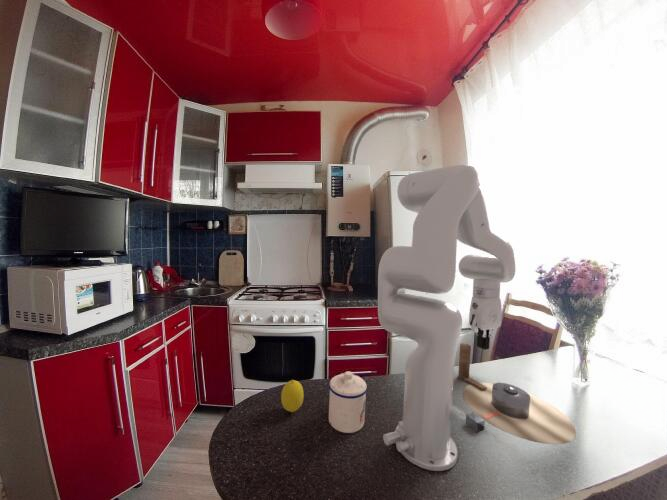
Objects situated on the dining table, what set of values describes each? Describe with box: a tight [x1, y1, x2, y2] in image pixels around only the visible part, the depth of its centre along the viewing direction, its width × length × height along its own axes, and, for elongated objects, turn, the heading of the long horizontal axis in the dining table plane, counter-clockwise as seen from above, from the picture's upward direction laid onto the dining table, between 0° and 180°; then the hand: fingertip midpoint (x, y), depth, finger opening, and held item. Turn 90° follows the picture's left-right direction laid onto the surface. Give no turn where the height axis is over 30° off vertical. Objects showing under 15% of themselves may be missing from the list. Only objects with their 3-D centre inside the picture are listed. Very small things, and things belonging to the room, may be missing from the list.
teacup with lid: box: [328, 370, 368, 434], centre depth 62 cm, size 12×9×12 cm
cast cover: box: [491, 382, 530, 419], centre depth 65 cm, size 8×8×6 cm
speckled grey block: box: [465, 411, 485, 434], centre depth 60 cm, size 2×3×2 cm
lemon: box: [280, 379, 305, 413], centre depth 62 cm, size 6×6×8 cm
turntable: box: [457, 342, 577, 445], centre depth 67 cm, size 25×29×12 cm
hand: (482, 347), depth 83 cm, fingers closed
